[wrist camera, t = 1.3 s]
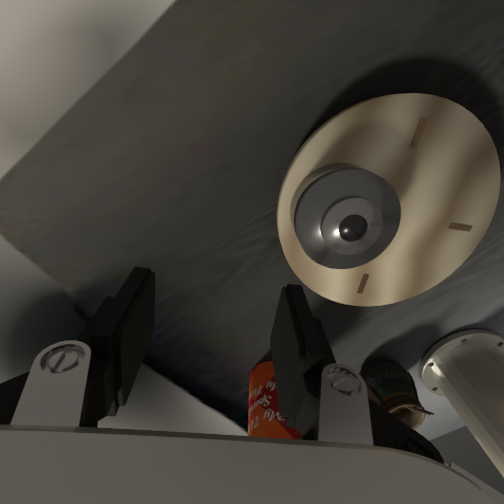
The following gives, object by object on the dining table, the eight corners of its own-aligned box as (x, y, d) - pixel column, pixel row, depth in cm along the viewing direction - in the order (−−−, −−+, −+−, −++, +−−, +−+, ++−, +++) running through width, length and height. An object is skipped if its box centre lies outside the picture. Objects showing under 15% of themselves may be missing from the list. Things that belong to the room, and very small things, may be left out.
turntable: (527, 116, 28) (548, 116, 26) (432, 305, 38) (442, 315, 36) (302, 73, 26) (307, 70, 24) (260, 286, 35) (261, 296, 33)
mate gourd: (346, 384, 45) (372, 451, 36) (363, 346, 42) (397, 410, 33) (389, 389, 46) (426, 457, 37) (410, 353, 43) (455, 416, 34)
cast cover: (394, 170, 28) (425, 182, 23) (364, 255, 32) (385, 280, 27) (301, 155, 27) (314, 165, 22) (281, 245, 31) (289, 269, 26)
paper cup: (267, 346, 41) (279, 450, 29) (305, 371, 44) (332, 477, 31) (231, 378, 44) (228, 486, 31) (269, 400, 46) (280, 509, 34)
